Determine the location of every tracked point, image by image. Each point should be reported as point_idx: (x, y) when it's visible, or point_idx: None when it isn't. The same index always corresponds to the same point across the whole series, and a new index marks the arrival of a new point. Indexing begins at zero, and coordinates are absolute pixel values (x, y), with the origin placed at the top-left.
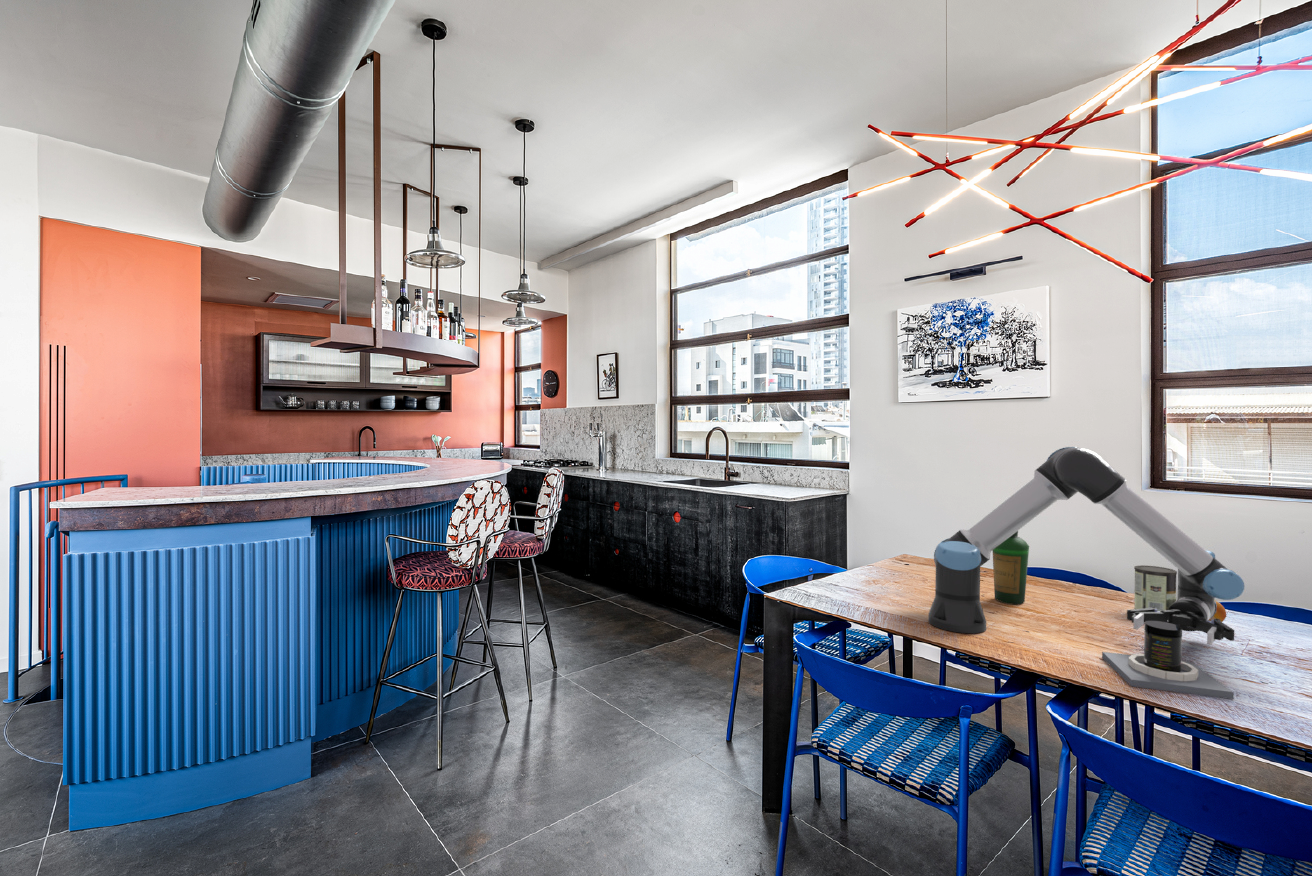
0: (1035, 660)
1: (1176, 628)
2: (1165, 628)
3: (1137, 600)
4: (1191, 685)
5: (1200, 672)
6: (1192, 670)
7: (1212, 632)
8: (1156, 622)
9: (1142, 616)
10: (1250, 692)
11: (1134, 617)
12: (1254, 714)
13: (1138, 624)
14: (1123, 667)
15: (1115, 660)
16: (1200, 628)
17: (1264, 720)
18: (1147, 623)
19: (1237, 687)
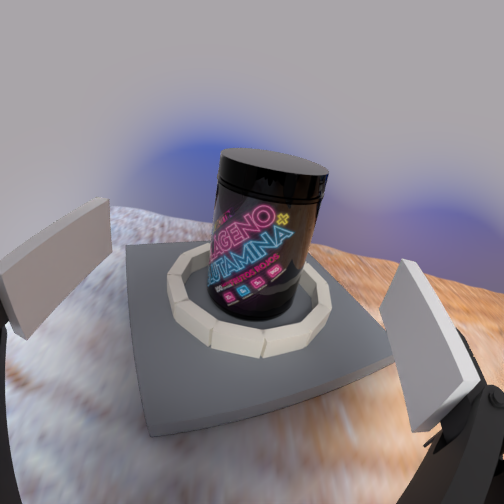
0: (428, 280)
1: (237, 151)
2: (265, 151)
3: None
4: (196, 246)
5: (149, 322)
6: (183, 267)
7: (82, 205)
8: (299, 167)
9: (440, 354)
10: (66, 299)
11: (420, 269)
12: (125, 227)
13: (394, 306)
14: (322, 275)
15: (352, 305)
16: (5, 476)
17: (122, 218)
18: (316, 165)
19: (77, 317)
